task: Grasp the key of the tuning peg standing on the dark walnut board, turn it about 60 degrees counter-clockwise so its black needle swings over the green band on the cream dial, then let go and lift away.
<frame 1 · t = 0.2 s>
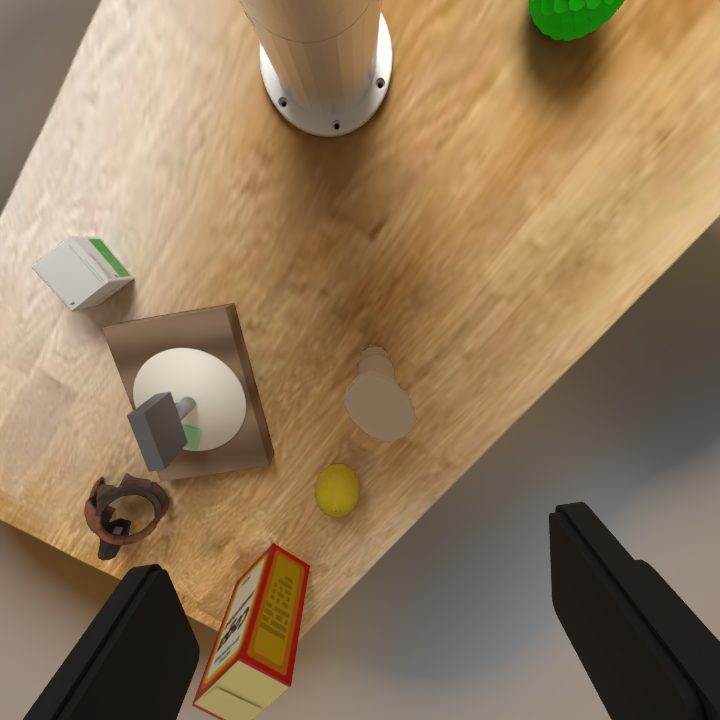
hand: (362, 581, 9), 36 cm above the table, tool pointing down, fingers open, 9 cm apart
ornament: (555, 7, 35), on the table
peg: (146, 424, 39), point 8 cm above the table, hinge at 0.0°
dial: (189, 401, 44), on the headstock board, point 3 cm above the table
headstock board: (200, 391, 47), on the table
lemon: (339, 469, 51), on the table
baking soda box: (273, 573, 56), on the table
handle: (374, 355, 46), on the table
small box: (101, 270, 43), on the table
broken clay pot: (135, 497, 52), on the table
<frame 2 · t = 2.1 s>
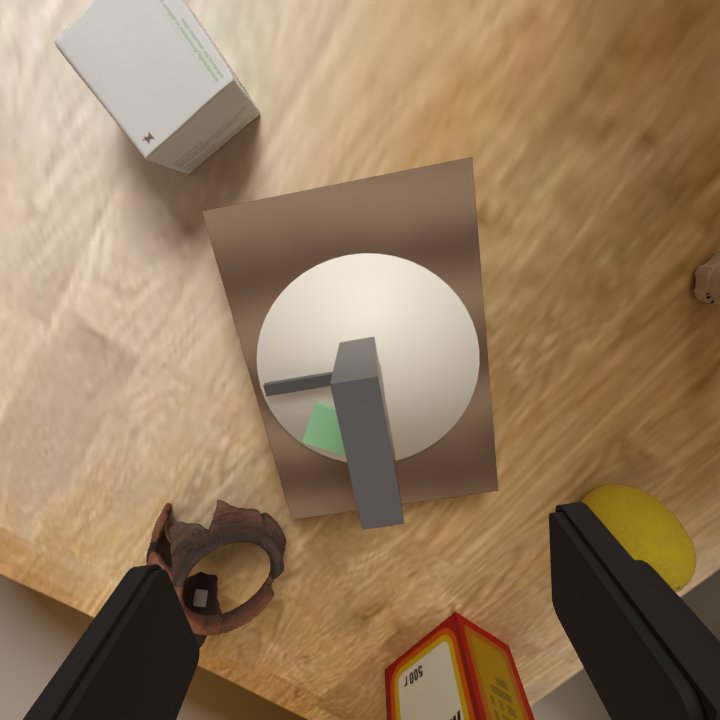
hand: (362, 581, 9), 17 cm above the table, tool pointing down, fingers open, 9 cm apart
peg: (313, 412, 18), point 8 cm above the table, hinge at 0.0°
dial: (367, 368, 22), on the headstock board, point 3 cm above the table
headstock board: (367, 352, 25), on the table
lemon: (593, 491, 29), on the table
baking soda box: (445, 655, 34), on the table
handle: (712, 277, 23), on the table
small box: (193, 100, 21), on the table
broken clay pot: (223, 535, 30), on the table
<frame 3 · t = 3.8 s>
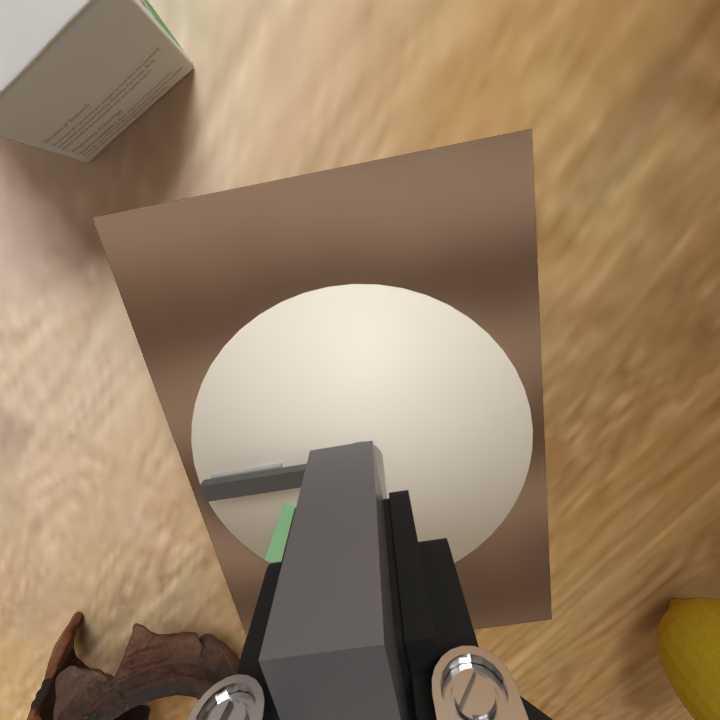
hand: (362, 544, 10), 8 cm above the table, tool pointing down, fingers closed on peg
peg: (265, 569, 10), point 8 cm above the table, hinge at 0.0°, touching gripper
dial: (361, 456, 14), on the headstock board, point 3 cm above the table
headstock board: (361, 418, 17), on the table
lemon: (671, 598, 21), on the table
small box: (91, 48, 14), on the table
broken clay pot: (159, 649, 22), on the table
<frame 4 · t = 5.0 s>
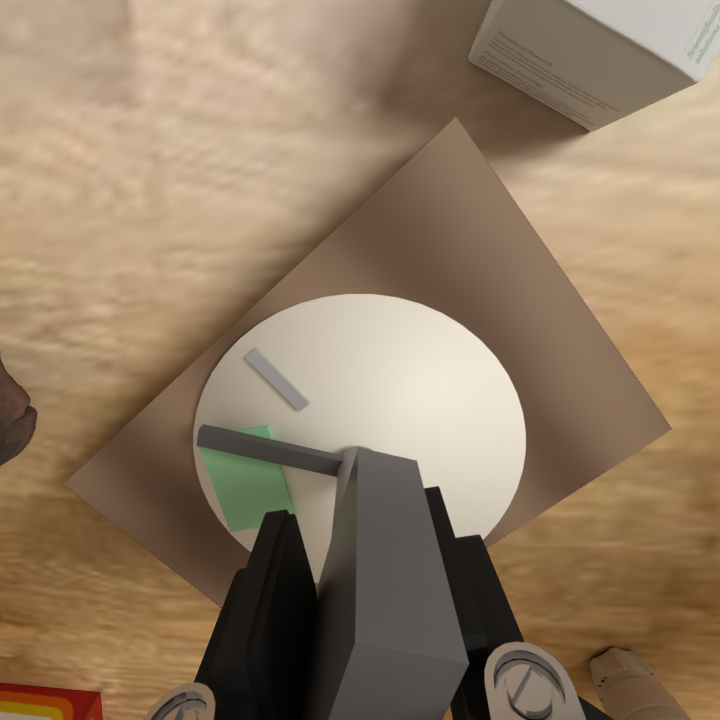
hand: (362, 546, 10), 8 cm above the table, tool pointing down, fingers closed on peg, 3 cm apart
peg: (264, 538, 10), point 8 cm above the table, hinge at 34.6°, touching gripper
dial: (359, 460, 15), on the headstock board, point 3 cm above the table
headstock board: (359, 423, 18), on the table
baking soda box: (31, 716, 24), on the table
handle: (610, 659, 23), on the table
small box: (568, 20, 13), on the table
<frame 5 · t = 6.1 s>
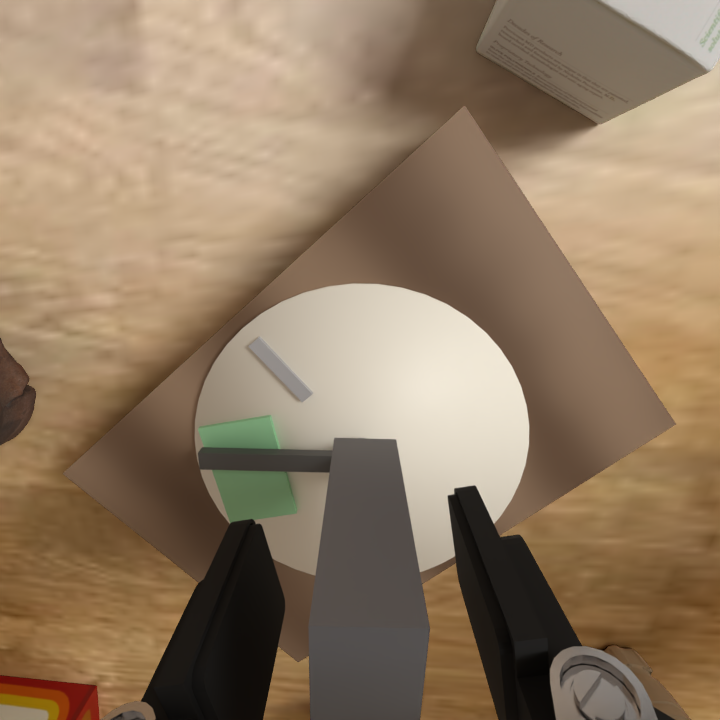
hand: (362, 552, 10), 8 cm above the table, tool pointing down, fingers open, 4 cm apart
peg: (265, 544, 10), point 8 cm above the table, hinge at 48.2°
dial: (361, 452, 15), on the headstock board, point 3 cm above the table
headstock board: (361, 416, 18), on the table
baking soda box: (26, 708, 24), on the table
handle: (609, 657, 23), on the table
small box: (577, 11, 13), on the table
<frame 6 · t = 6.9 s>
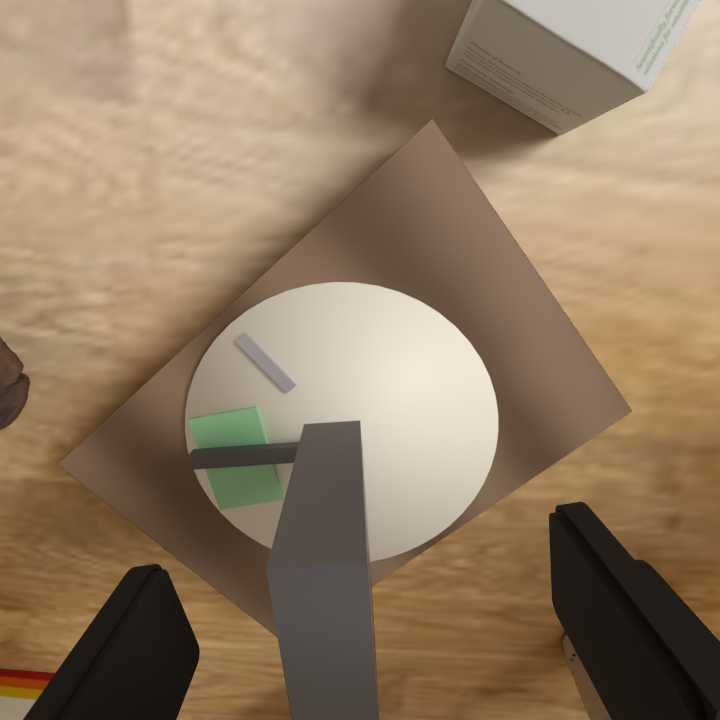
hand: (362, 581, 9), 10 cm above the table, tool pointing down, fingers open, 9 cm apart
peg: (252, 527, 11), point 8 cm above the table, hinge at 53.4°
dial: (343, 440, 16), on the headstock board, point 3 cm above the table
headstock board: (344, 408, 19), on the table
baking soda box: (19, 701, 25), on the table
handle: (582, 636, 24), on the table
small box: (537, 32, 15), on the table
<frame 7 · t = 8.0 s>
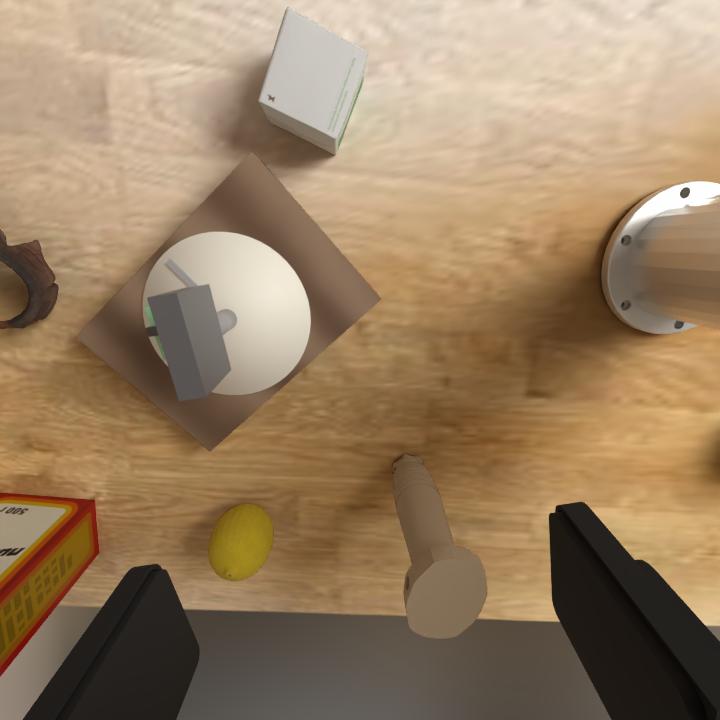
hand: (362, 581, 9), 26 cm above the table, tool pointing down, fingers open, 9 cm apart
peg: (167, 337, 25), point 8 cm above the table, hinge at 56.7°
dial: (227, 318, 30), on the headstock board, point 3 cm above the table
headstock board: (238, 311, 33), on the table
lemon: (253, 509, 39), on the table
baking soda box: (49, 522, 38), on the table
handle: (407, 465, 38), on the table
small box: (317, 103, 29), on the table
broken clay pot: (0, 266, 31), on the table
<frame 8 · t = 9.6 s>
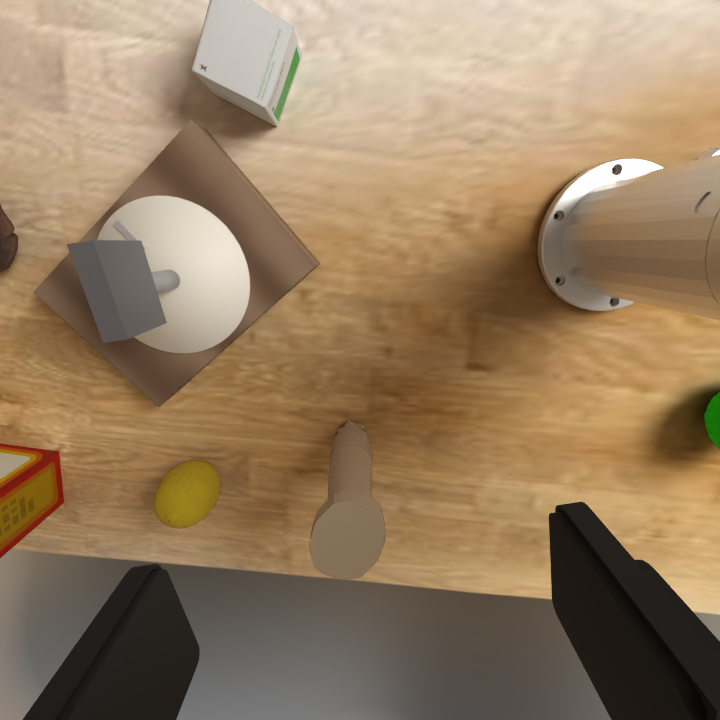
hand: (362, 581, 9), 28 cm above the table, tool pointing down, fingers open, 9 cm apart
peg: (105, 291, 27), point 8 cm above the table, hinge at 58.4°
dial: (172, 279, 32), on the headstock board, point 3 cm above the table
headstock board: (188, 276, 35), on the table
lemon: (206, 467, 41), on the table
baking soda box: (18, 470, 41), on the table
handle: (352, 432, 40), on the table
small box: (259, 77, 30), on the table
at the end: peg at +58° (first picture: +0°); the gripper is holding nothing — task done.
